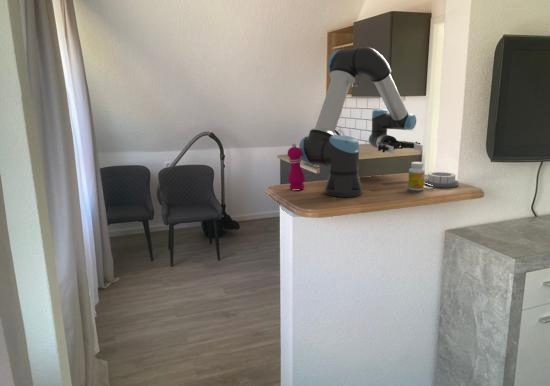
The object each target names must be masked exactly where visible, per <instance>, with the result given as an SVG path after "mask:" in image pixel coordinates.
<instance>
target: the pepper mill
mask: <svg viewBox="0 0 550 386" xmlns="http://www.w3.org/2000/svg"><path fill="white" fill-rule="evenodd" d="M301 155H302V152H301V149H300V148H299V146H298V147H297V144H296V143H292V144H291V147H290V148H289V149H288V150H287V156H288V158H289V159H288V160H289V161H288V163H290V171H289V173H288V177H287V179H288V180H287V181H288V182H289V184H290V185H289V189H290V188H291V189H303V190H305V184H304V182H305V180H306V177H305V173H303V170H302V168H301V161H302V158H301Z"/></svg>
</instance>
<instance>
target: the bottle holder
mask: <svg viewBox="0 0 550 386" xmlns="http://www.w3.org/2000/svg"><path fill="white" fill-rule="evenodd" d="M456 176H457V175H456V174H455V173H452V172H448V171H447V172H445V171H431V172H428V173H427V178H424V182H425V183H428V184H431V185H433V186H434V187H433V188H438V189H439V188H441V189H450V188H451V189H452V187H453V188H457V187H458V186H459V180H457V179H456ZM456 186H457V187H456Z"/></svg>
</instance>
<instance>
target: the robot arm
mask: <svg viewBox="0 0 550 386" xmlns="http://www.w3.org/2000/svg"><path fill="white" fill-rule="evenodd" d="M327 66H328V67H327V70H328V73H329V78H330V82H329V86H328V87H327V92H326V94H325V97H324V101H323V103H322V105H321V108H320V109H321V110H320V112H319V114H318V117H317V121H316V123H315V126H314V128H311V129H310V130H309V134H308V135H306V136H304V137H303V138H302V139H301V140H300V142H299V145H298V148H300V149H301V152H302V155H301V157H300V158H301V161H303V162H304V163H306V164H309V165H313V166H315V165H316V166H323V167H324V166H325V167H329V175H328V178H327V181H326V184H325V188H324V190H325V191H324V193H325V195H327V194H328V195H327V196H330V195H333V196H332V197H334V196H338V197H337V198H355V197H359V196H361V195H362V194H363V186H362V184H361V180H360V177H359V157H360V155H359V154H360V146H359V140H358V139H357V138H355V137H352V136H349V135H341V134H340V135H339V134H335V131H336V128H337V125H338V124H339V123H338V122H339V120H340V117H341V114H342V110H343V108H344V105H345V101H346V98H347V95H348V92H349V90H350V86H351V85H354V84H355V83H356V80H357V76H360V77H361V76H365V77H367V78H368V79H369V81H370V82H372V83H373V84H374V85H375V88H376V89H377V91H378V94H379V95H380V98H382V99H381V100H382V101H383V103H384V106H385V107H386V108H385V109H384V108H383V109H382V108H379V109H378V108H377V109H373V111H372V112H371V113H372V115H371V117H372V118H371V134H370V135H369V137H368V143H369V144H370V146H372V147H374V148H375V149H377V151H378V152H382V153H386V152H387V153H391V154H394V151H395V150H397V149H398V150H403V149H413V150H414V151H419V152H423V150H424V149H423V147H424V146H423V144H421V142H418V141H415V142H414V141H405V140H403V141H402V140H397V138H396V137H394V136H393V135H389V134H388V130H402V131H409V130H414V128H415V127H416V125H417V118H416V117H417V116H416V115H415V114H413V113H409V112H408V111H407V108H406V106H405V104H404V102H403V99H402V96H401V95H400V93H399V90H398V88H397V86H396V84H395V81H394V80H393V78H392V77H393V76H392V75H391V73H392V69H391V67H390V63H388V61H387V60H386V58H385V57H384V56H383V55H382V54H381V53H380V52H379V51H377V50H376V49H375V48H372V47H369V46H362V47H353V48H341V49H336V50H335V51H334V52H333V51H332V53H331V54H330V56H329V59H328V61H327Z"/></svg>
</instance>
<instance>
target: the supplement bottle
mask: <svg viewBox="0 0 550 386" xmlns="http://www.w3.org/2000/svg"><path fill="white" fill-rule="evenodd" d="M423 167H424V162H422V161H412V162H411V167H410V168H409V169H408V183H407V189H408V190H410V191H423V190H424V187H425V184H424V180H425V169H424V168H423Z"/></svg>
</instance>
